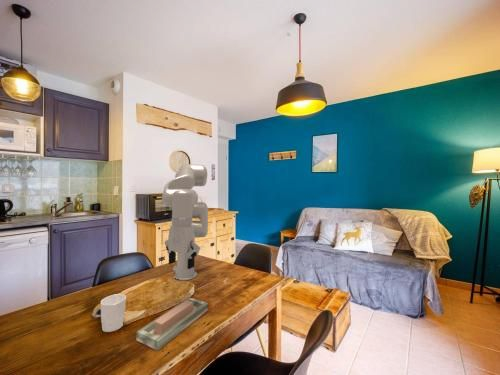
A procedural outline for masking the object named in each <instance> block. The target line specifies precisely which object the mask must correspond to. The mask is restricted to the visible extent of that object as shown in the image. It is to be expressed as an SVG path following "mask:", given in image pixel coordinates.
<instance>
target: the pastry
mask: <svg viewBox="0 0 500 375" xmlns="http://www.w3.org/2000/svg"><path fill="white" fill-rule="evenodd" d="M91 316H92V317H93V318H101V302H100V303H98V304H96V306H95V307H94V308H93V310H92V313H91Z"/></svg>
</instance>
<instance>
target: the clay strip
mask: <svg viewBox="0 0 500 375" xmlns="http://www.w3.org/2000/svg"><path fill="white" fill-rule="evenodd" d="M185 300H186V299H185ZM182 302H183V301H182ZM179 304H180V303H179ZM176 306H177V305H176ZM173 308H174V307H173ZM170 310H171V309H170ZM168 311H169V310H168ZM168 311H167V312H168ZM191 312H193V302H190V301H187V300H186V301H185V302H183V303H182V304H180V305H179V306H177V307H176V308H174V309H173V310H171V311H169V312H168V313H166V312H165V313H166V314H165V315H163V314H162V315H163V316H162V317H160V316H159V317H160V318H159V319H157V318H156V319H157V320H156V321H154V320H153V321H154V333H156V334H158V335H162V334H163V333H164V332H166V331H167V330H168V329H170V328H171V327H173V326H174V325H175V324H177V323H178V322H179V321H181V320H182V319H183V318H185V317H186V316H187V315H189V314H190V313H191Z"/></svg>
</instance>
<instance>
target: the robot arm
mask: <svg viewBox="0 0 500 375" xmlns="http://www.w3.org/2000/svg"><path fill="white" fill-rule="evenodd" d="M207 180H208V169H207V168H206V166H205V165H203V164H192V163H191V164H189V163H188V164H187V163H186V164H182V165H181V166H180V167H179V169H178V172H176V173H175V175H174V178H172V179H170V180H169V181H167V182H166V184H165V185H164V188H163V192H162V196H161V201H162V202H161V203H162V204H163V205H164V206H165V207H169V208H171V209H172V210H171V213H172V214H171V216H172V217H171V220H170V221H171V225H170V227H169V230H168V239H166V240H164V245H165V249H166V250H167V254H168V265H172V264H174V263H176V265H174V266H173V268H172V271H174V272H175V273H174V275H173V278H174V279H175V278H176V279H175V280H177V279H179V280H178V281H191V280H192V279H195V278H196V277H197V276H198V273H197V271H195V259H196V257H197V255H199V252H200V250H201V247H200V246H199V245H198V244H197V243H195V241H196V240H195V239H196V238H205V237H207V236H208V229H209V228H208V227H209V221H208V220H209V218H208V217H209V212H208V211H209V209H208V204H207V203H206V202H203V201H199V195H198V193H197V191H196V190H194V189H193V188H194V187H205V186H206V184H207V182H208V181H207ZM193 219H197V220H193Z"/></svg>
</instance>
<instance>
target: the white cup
mask: <svg viewBox="0 0 500 375" xmlns="http://www.w3.org/2000/svg"><path fill="white" fill-rule="evenodd" d="M126 300H127V296H126V295H125V294H122V293H117V294H116V293H115V294H111V295H109V296H106V297H104V298H102V299H101V300H100V303H101V317H100V322H101V330H102V331H103V332H104V333H111V332H115V331H118V330H120V329H121V328H122V327H123V326H124V324H123V319H124V320H125V314H126V313H125V312H126V302H127V301H126Z"/></svg>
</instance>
